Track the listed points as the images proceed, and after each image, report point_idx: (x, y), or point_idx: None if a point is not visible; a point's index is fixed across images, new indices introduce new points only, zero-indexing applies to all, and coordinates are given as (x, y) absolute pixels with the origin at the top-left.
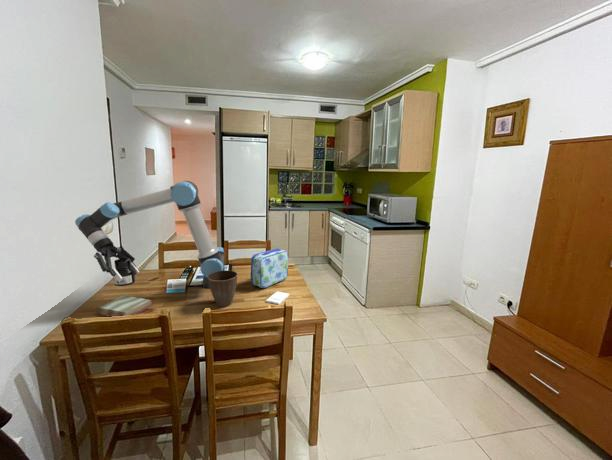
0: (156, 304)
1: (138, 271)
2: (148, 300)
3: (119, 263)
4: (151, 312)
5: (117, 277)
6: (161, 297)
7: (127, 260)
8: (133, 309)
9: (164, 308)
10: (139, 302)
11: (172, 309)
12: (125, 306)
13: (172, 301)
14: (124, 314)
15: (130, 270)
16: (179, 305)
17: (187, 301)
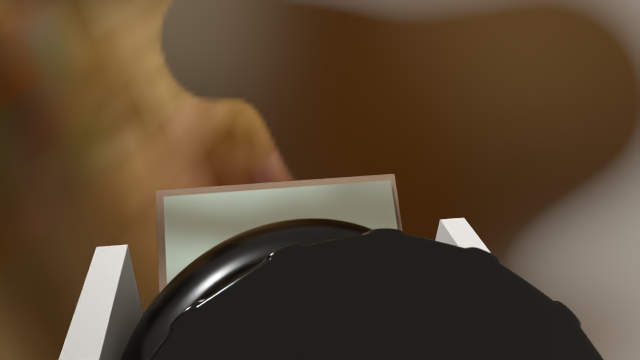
0: (132, 185)
1: (109, 253)
2: (176, 196)
3: (576, 356)
4: (243, 119)
5: None
6: (3, 255)
7: (325, 313)
8: (326, 185)
9: (163, 83)
10: (236, 229)
11: (155, 23)
12: None
13: (42, 111)
14: (394, 186)
15: (282, 242)
16: (85, 19)
17: (4, 8)
